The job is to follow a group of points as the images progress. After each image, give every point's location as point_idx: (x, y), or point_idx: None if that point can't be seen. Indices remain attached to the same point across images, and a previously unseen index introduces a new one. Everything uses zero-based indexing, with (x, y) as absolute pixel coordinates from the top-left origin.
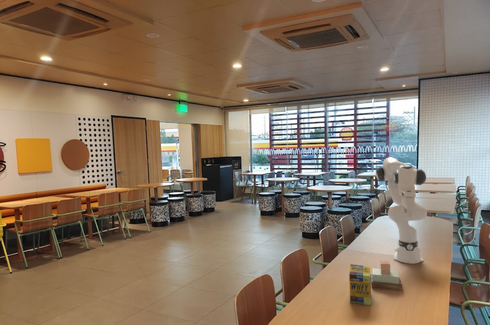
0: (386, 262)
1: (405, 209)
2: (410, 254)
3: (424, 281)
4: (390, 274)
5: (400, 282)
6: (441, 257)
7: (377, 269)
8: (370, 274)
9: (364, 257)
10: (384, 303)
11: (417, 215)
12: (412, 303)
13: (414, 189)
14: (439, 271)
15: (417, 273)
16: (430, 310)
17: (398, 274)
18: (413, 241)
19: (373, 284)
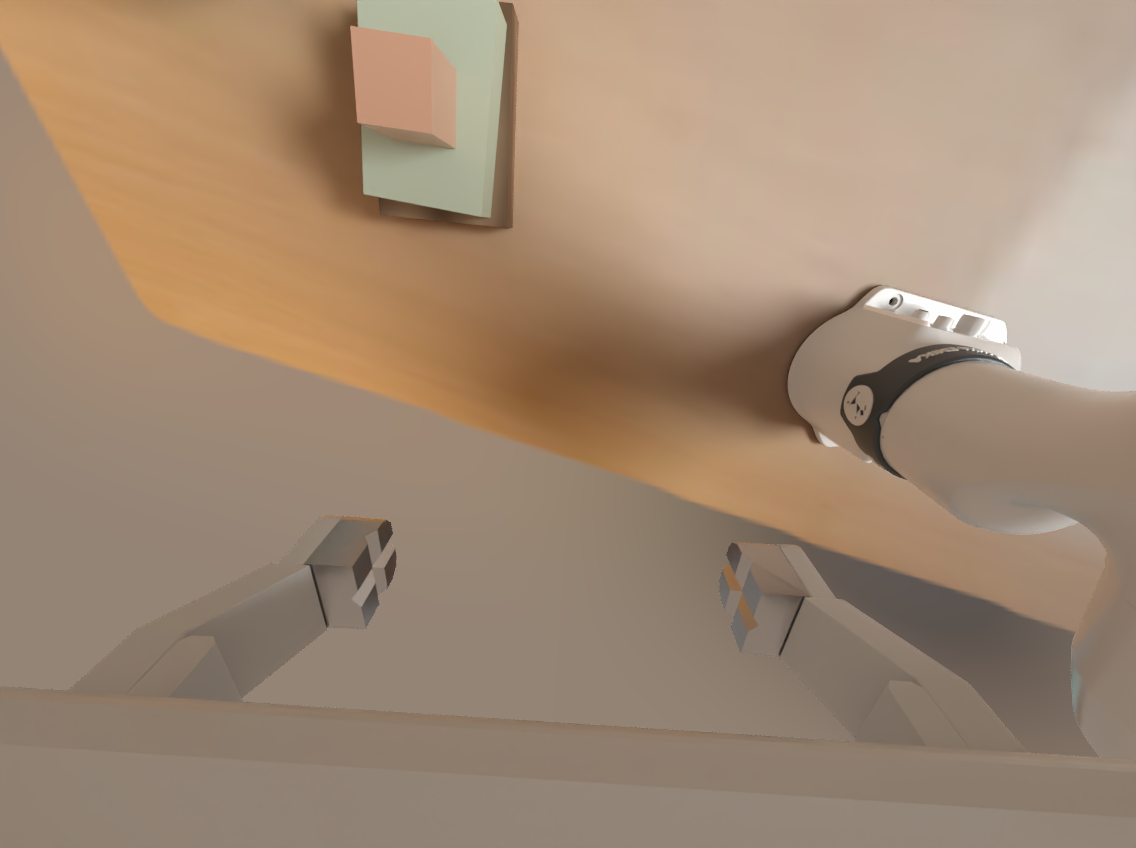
0: (393, 97)
1: (809, 644)
2: (827, 388)
3: (538, 364)
4: (394, 141)
5: (409, 212)
6: (860, 534)
7: (475, 46)
8: (507, 4)
9: (990, 48)
10: (187, 60)
11: (1115, 676)
12: (255, 229)
13: None
14: (671, 467)
15: (643, 362)
16: (217, 293)
17: (408, 202)
18: (885, 449)
19: None
